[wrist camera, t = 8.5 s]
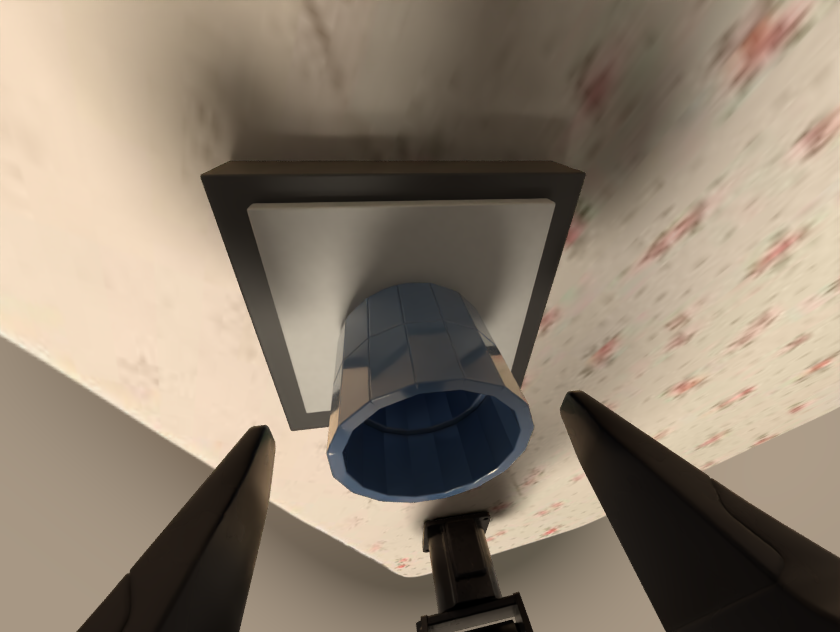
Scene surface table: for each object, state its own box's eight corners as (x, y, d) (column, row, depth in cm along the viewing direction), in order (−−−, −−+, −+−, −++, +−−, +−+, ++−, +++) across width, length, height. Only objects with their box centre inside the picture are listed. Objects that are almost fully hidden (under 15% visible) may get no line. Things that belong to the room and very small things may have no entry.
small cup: (469, 379, 14) (511, 488, 10) (348, 391, 14) (342, 514, 10) (487, 271, 11) (558, 368, 7) (329, 280, 11) (309, 393, 6)
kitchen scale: (500, 375, 19) (520, 415, 17) (298, 395, 18) (288, 442, 15) (552, 160, 12) (598, 175, 10) (227, 160, 11) (188, 178, 8)
